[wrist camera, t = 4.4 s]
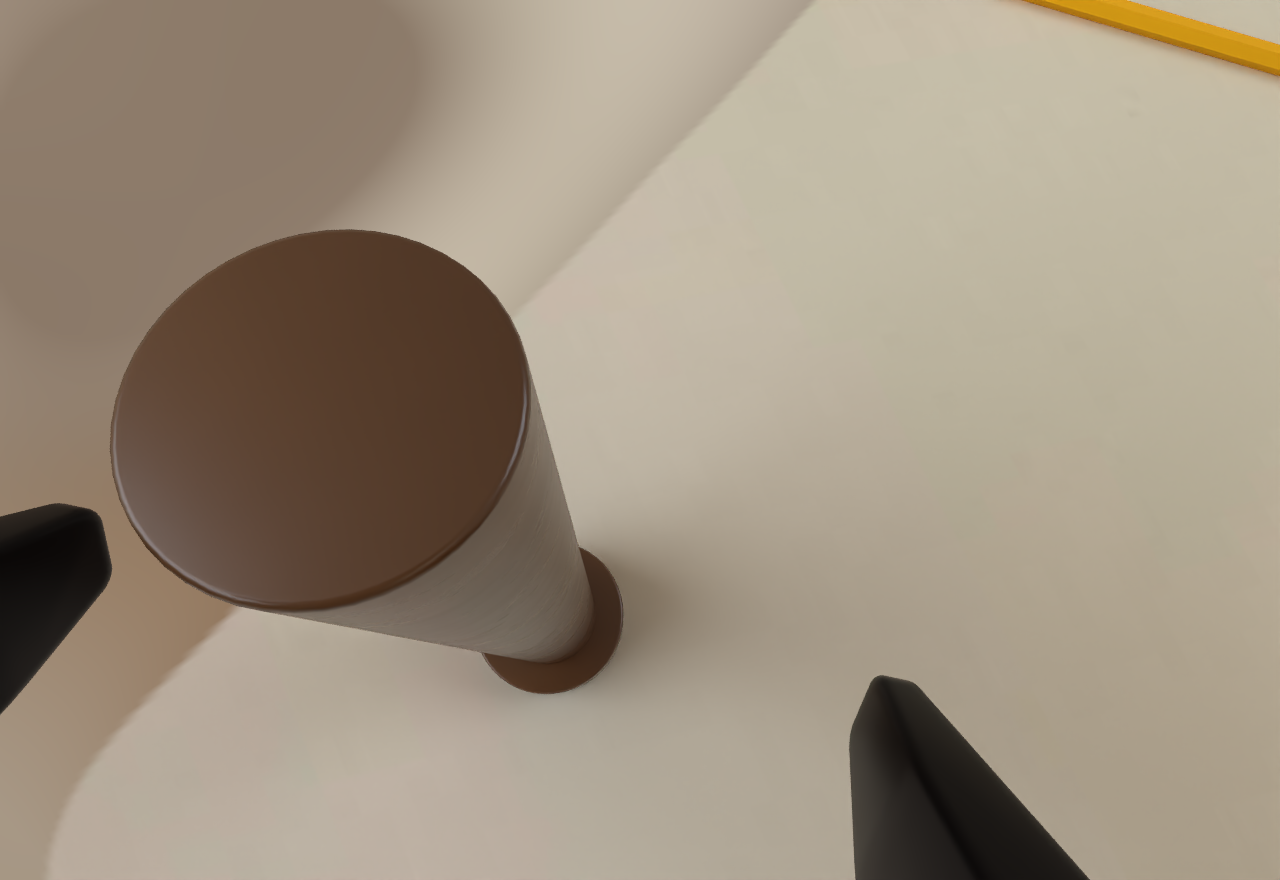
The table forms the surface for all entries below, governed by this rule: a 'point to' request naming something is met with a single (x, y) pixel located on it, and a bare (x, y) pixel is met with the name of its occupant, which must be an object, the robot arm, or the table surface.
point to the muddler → (361, 457)
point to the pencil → (1175, 31)
